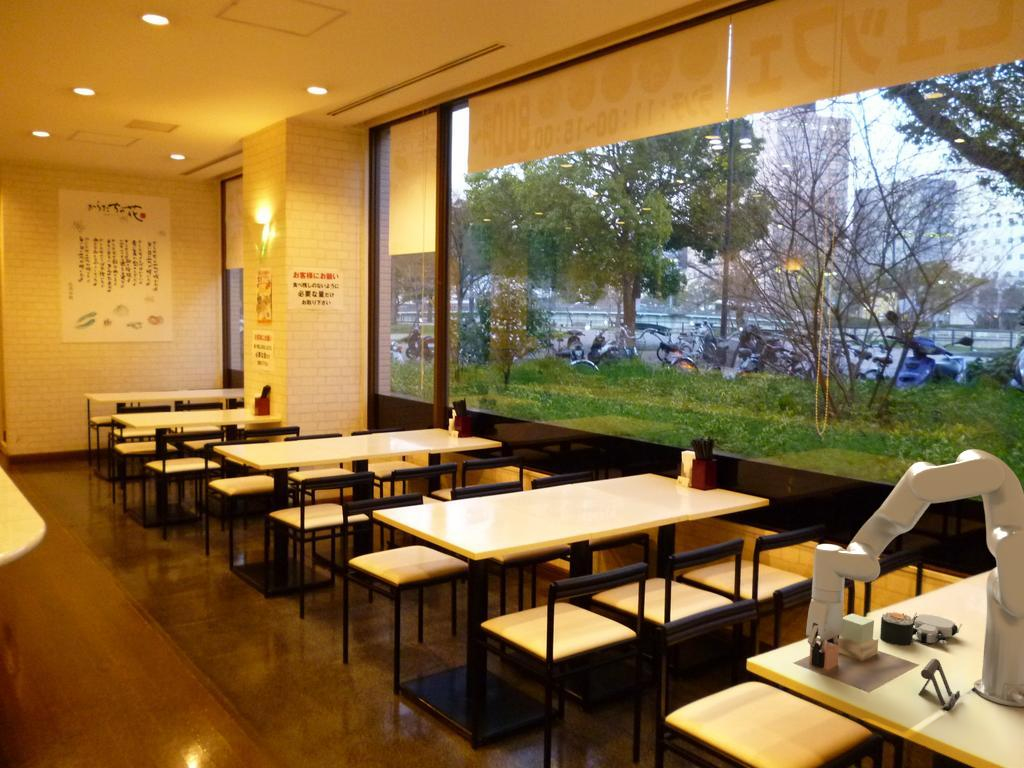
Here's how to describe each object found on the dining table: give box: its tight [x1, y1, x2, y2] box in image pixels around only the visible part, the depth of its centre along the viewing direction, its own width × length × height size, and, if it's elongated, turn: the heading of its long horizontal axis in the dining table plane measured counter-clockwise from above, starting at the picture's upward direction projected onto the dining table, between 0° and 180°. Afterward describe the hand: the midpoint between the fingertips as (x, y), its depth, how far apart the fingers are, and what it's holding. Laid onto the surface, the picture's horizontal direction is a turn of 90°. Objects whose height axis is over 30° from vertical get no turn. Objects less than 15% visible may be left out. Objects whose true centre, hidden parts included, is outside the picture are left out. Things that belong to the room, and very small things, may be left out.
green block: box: [840, 613, 875, 644], centre depth 214 cm, size 6×6×5 cm
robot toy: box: [912, 612, 963, 645], centre depth 229 cm, size 12×4×15 cm
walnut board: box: [793, 650, 920, 693], centre depth 207 cm, size 20×26×1 cm
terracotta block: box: [809, 641, 839, 670], centre depth 206 cm, size 5×5×5 cm
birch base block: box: [838, 635, 879, 661], centre depth 214 cm, size 8×8×4 cm
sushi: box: [879, 611, 914, 647], centre depth 223 cm, size 8×8×8 cm
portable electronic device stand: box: [918, 658, 961, 712], centre depth 190 cm, size 9×8×8 cm
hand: (823, 662), depth 207 cm, fingers closed on terracotta block, 4 cm apart
